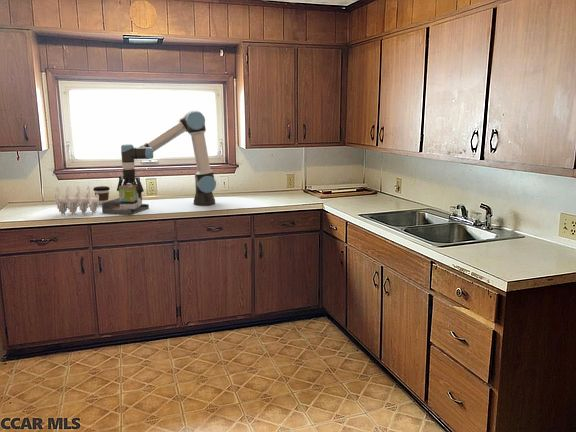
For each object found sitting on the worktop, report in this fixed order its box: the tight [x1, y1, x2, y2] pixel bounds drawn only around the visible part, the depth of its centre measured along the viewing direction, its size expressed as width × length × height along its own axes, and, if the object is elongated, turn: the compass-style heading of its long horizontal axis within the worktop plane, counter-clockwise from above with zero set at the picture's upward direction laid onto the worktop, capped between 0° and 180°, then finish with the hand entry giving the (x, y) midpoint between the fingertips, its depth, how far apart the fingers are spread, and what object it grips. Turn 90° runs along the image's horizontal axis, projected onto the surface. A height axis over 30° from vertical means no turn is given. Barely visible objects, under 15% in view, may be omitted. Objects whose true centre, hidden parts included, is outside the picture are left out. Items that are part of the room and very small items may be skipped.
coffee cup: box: [92, 185, 110, 206], centre depth 332 cm, size 11×11×12 cm
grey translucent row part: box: [54, 185, 99, 216], centre depth 301 cm, size 18×18×25 cm
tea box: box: [118, 183, 143, 209], centre depth 308 cm, size 15×10×15 cm
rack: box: [101, 197, 150, 216], centre depth 311 cm, size 20×22×7 cm
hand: (131, 202), depth 309 cm, fingers open, 11 cm apart
